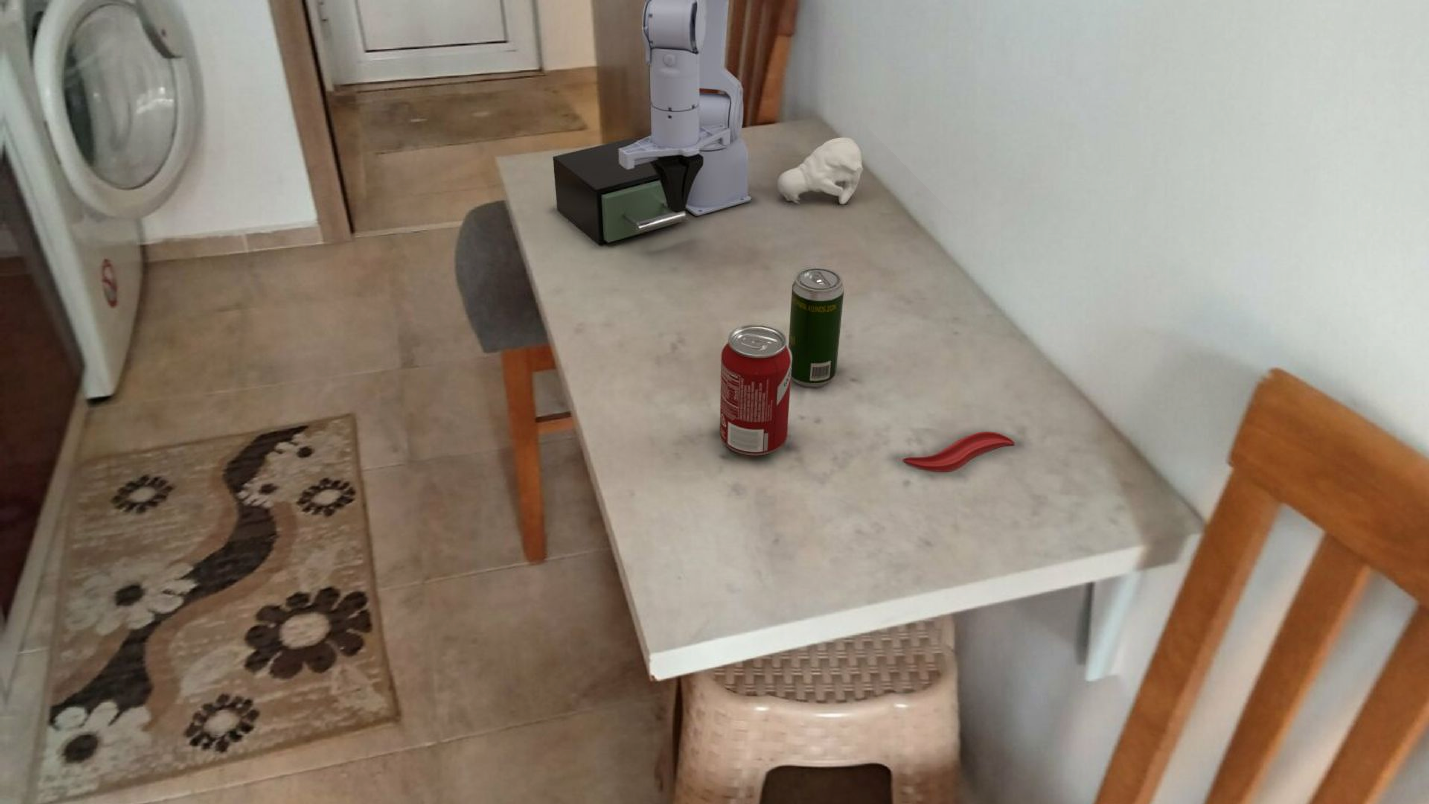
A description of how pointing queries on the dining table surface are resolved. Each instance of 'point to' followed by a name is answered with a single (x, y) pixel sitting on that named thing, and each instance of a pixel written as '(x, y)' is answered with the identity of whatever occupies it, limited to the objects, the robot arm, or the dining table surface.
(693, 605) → the dining table surface
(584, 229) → the drawer cabinet
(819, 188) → the white lumpy figure
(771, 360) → the soda can
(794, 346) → the beer can
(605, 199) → the green drawer
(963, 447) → the cayenne pepper
